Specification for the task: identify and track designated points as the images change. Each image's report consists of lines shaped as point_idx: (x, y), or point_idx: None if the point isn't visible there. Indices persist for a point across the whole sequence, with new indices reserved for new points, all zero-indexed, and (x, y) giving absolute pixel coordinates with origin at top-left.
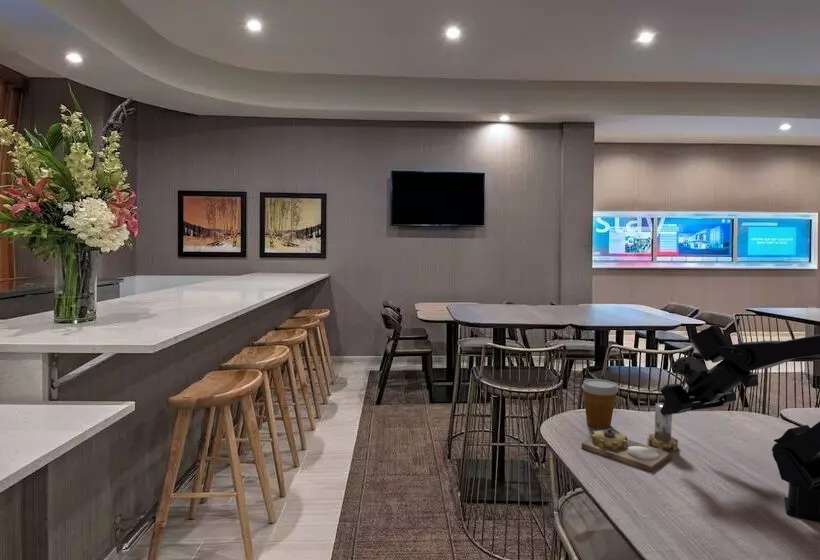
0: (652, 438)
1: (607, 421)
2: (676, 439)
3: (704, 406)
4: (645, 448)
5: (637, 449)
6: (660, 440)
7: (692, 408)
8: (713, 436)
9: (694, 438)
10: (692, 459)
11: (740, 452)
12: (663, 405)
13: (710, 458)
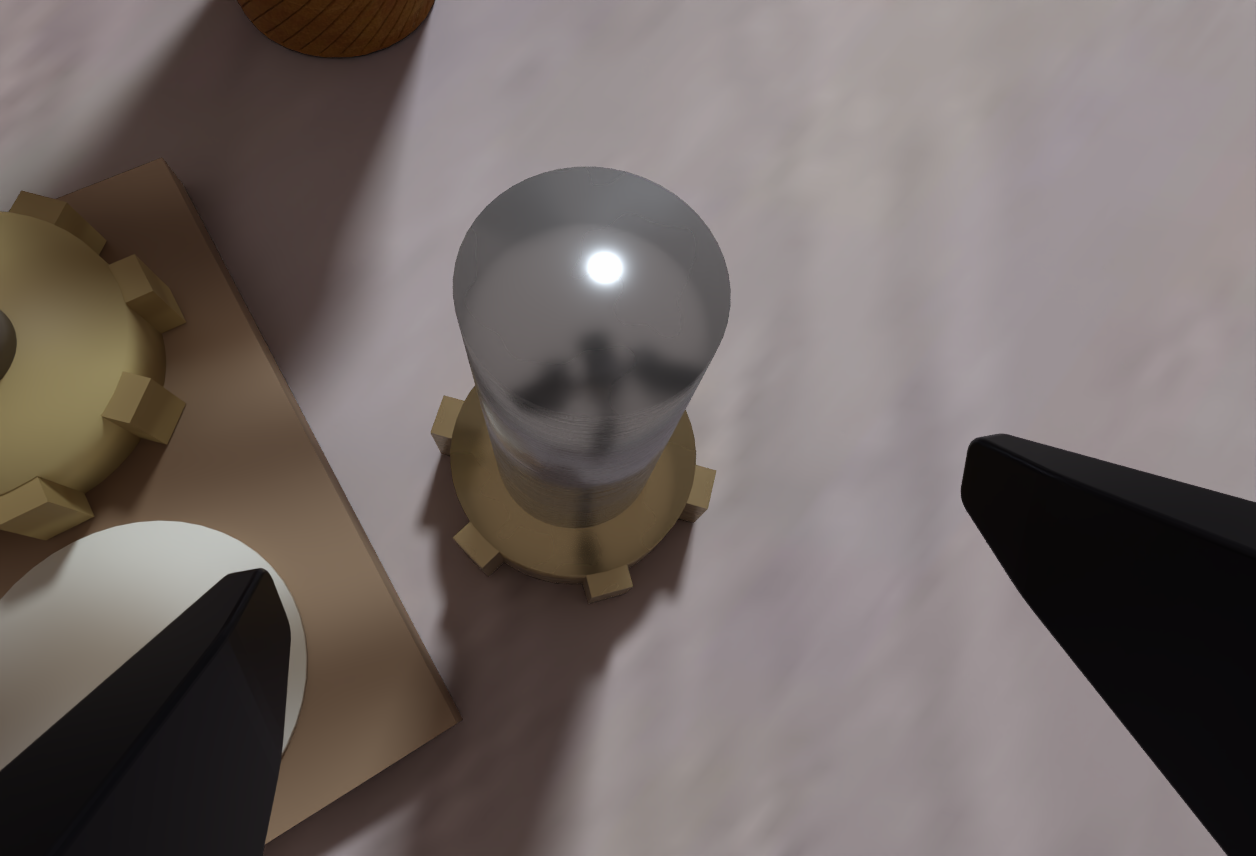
0: (473, 429)
1: (330, 9)
2: (703, 493)
3: (1212, 793)
4: None
5: (147, 602)
6: (510, 496)
7: (1002, 542)
8: (1156, 379)
9: (971, 382)
10: (648, 794)
11: None
12: (46, 742)
13: (837, 801)
